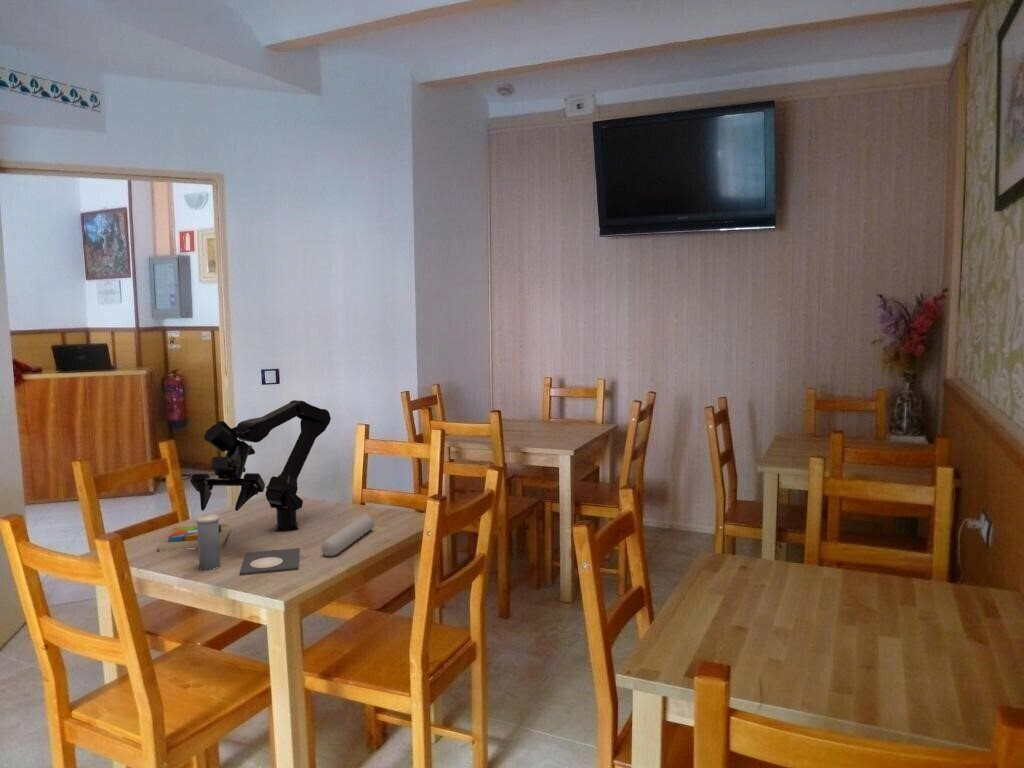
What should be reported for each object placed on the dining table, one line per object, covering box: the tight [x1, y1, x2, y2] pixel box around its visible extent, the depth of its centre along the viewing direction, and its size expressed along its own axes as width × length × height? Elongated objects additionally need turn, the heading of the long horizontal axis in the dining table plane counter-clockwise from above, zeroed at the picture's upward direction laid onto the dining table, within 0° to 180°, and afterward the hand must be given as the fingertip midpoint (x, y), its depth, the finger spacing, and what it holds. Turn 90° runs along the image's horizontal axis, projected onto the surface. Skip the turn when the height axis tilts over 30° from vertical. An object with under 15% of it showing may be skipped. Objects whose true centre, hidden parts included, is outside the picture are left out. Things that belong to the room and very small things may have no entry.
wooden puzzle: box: [157, 522, 232, 552], centre depth 214 cm, size 18×19×4 cm
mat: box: [239, 547, 300, 576], centre depth 194 cm, size 16×14×1 cm
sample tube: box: [195, 513, 221, 570], centre depth 190 cm, size 5×5×13 cm
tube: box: [321, 513, 375, 557], centre depth 209 cm, size 5×5×25 cm
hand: (219, 510), depth 196 cm, fingers open, 9 cm apart
